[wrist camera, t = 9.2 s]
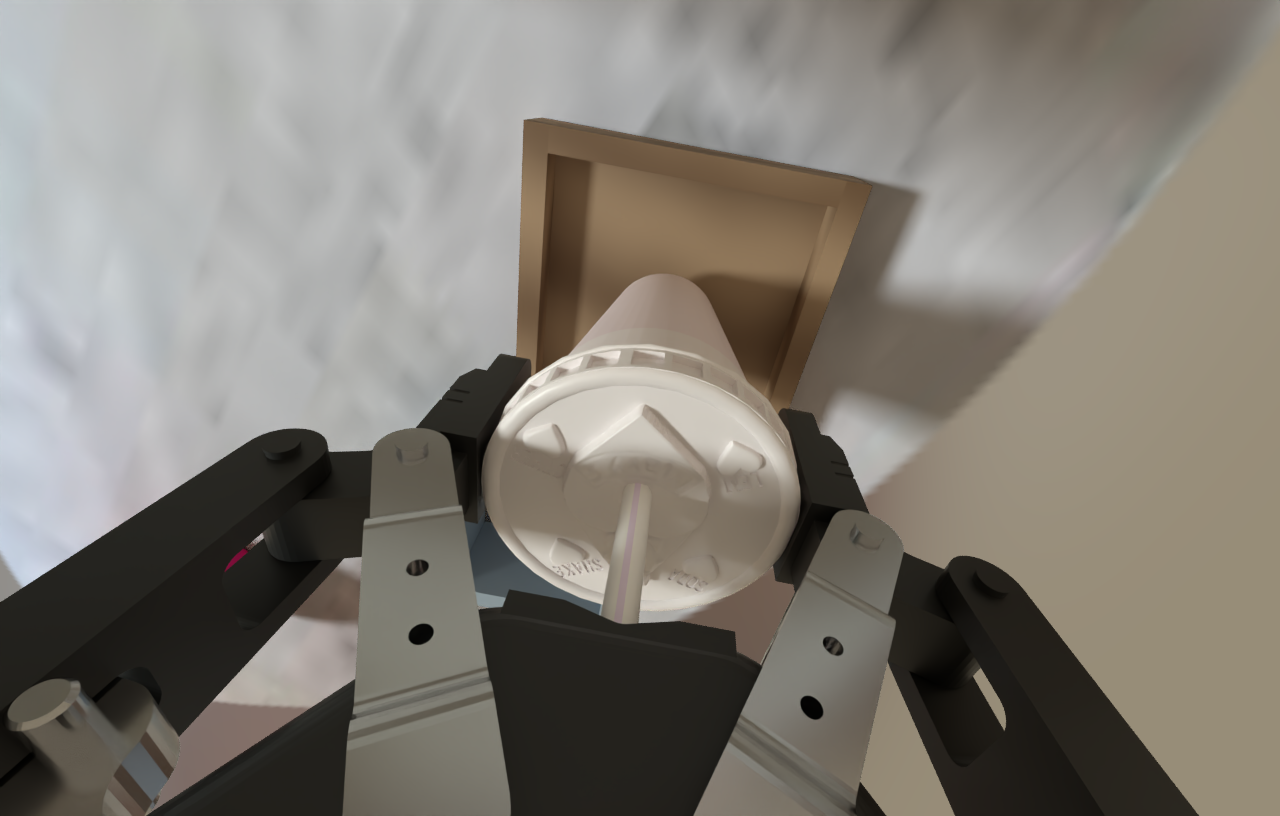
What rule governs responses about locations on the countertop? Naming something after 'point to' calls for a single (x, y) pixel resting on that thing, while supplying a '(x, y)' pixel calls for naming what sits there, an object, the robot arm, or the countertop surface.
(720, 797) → the robot arm
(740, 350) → the tray
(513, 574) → the holder
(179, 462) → the countertop surface
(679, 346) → the smoothie
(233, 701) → the countertop surface
